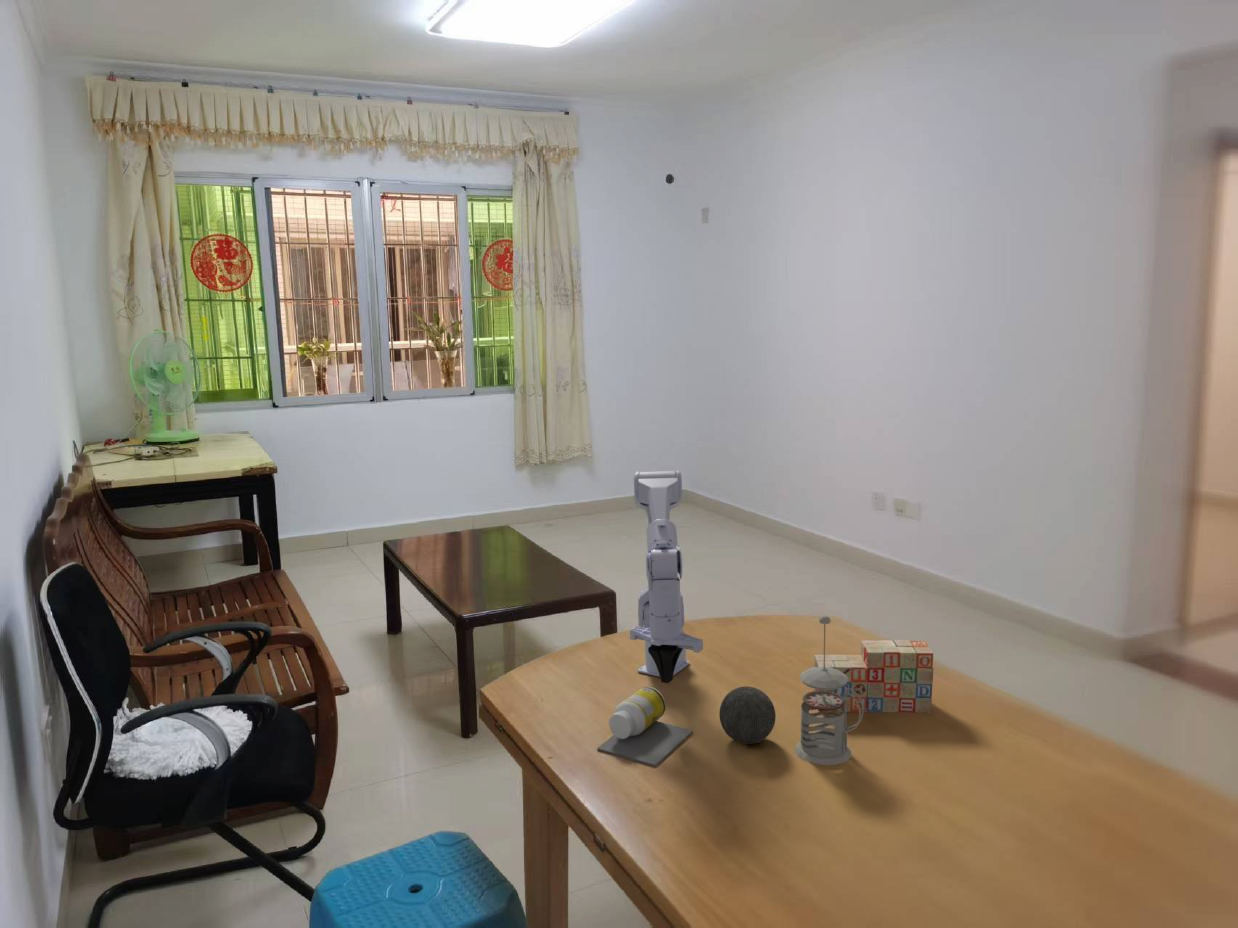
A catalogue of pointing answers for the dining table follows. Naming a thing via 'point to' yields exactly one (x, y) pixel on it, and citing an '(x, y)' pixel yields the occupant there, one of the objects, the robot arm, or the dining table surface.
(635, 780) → the dining table surface
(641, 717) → the pill bottle
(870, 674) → the stack of blocks
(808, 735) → the french press
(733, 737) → the decorative ball
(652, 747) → the mat
